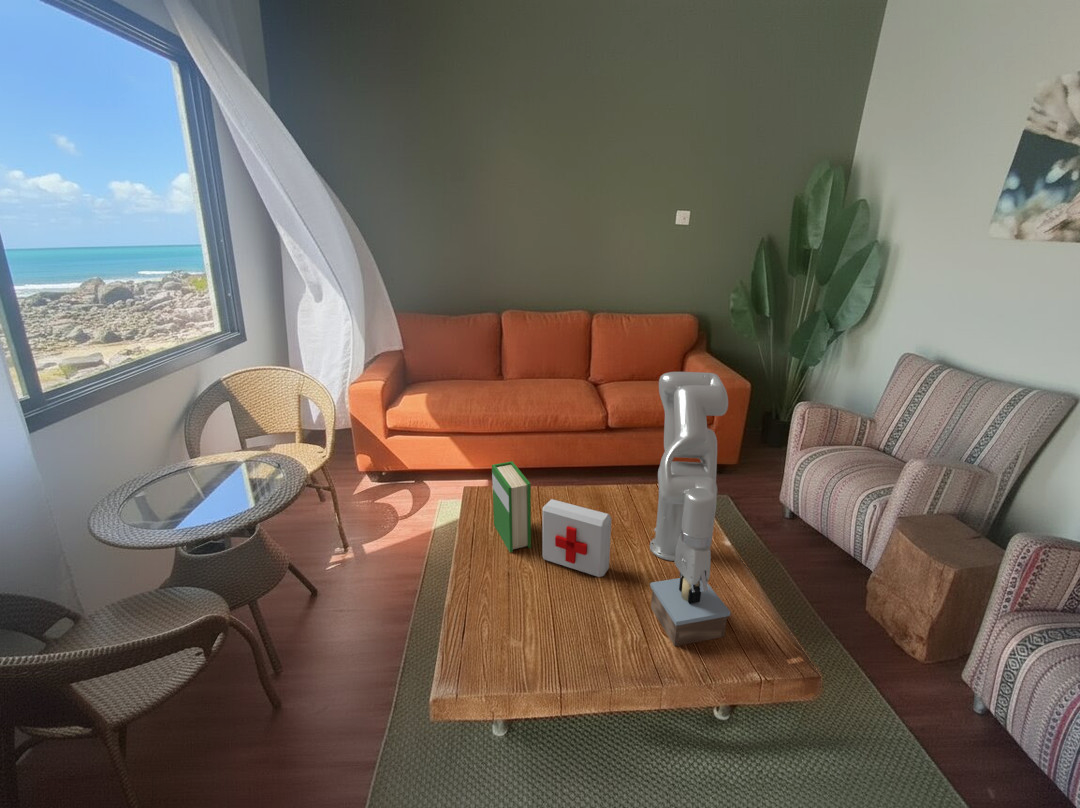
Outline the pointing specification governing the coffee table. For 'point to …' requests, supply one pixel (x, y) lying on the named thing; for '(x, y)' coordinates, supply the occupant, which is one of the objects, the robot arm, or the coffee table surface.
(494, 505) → the hardback book
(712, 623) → the box
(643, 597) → the coffee table surface
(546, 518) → the bevelled white case
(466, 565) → the coffee table surface
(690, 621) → the lid
